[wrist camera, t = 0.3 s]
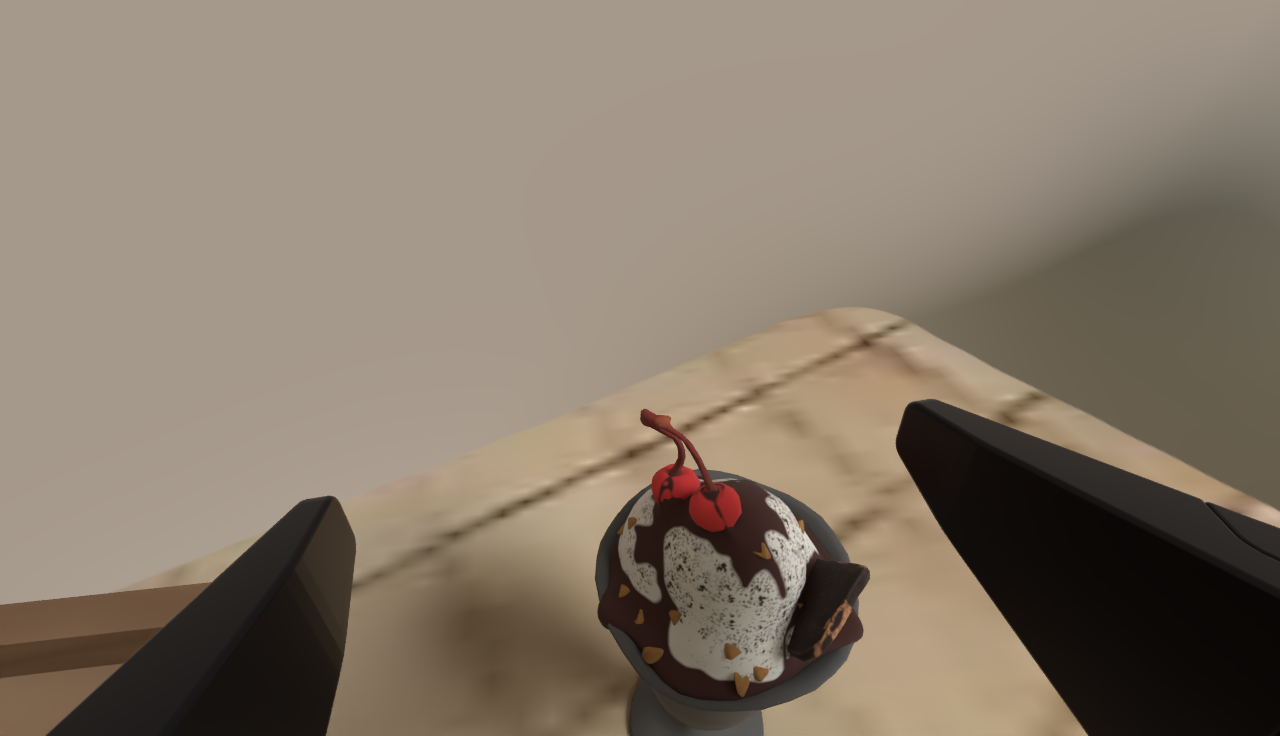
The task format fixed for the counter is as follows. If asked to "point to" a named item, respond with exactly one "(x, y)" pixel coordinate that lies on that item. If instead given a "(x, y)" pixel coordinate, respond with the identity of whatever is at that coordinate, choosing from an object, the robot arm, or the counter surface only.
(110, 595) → the wooden tray
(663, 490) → the sundae
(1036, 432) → the counter surface
